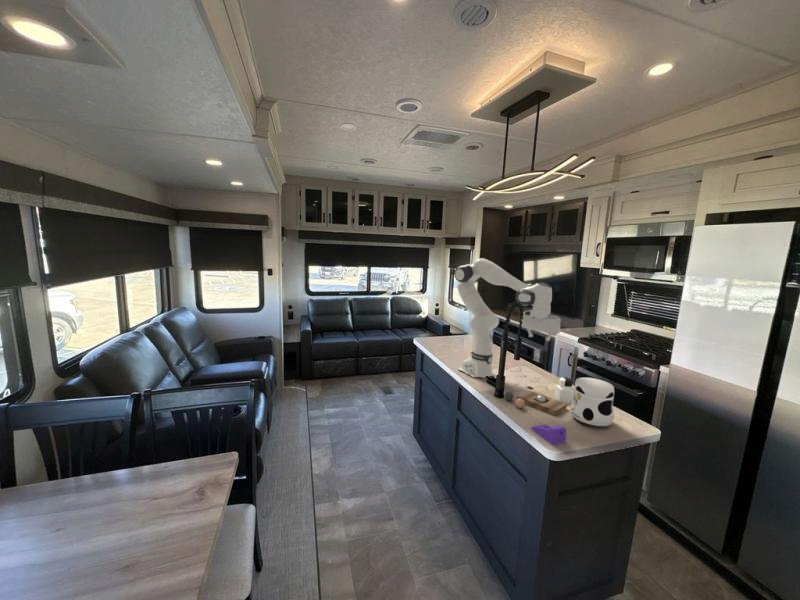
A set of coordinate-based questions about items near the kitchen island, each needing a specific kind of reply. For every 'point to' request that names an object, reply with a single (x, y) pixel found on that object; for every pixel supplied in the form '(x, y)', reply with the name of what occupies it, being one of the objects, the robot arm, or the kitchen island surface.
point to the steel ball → (541, 399)
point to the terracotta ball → (520, 403)
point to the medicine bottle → (564, 390)
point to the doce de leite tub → (593, 402)
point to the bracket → (551, 433)
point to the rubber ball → (508, 396)
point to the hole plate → (549, 406)
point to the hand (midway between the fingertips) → (539, 338)
